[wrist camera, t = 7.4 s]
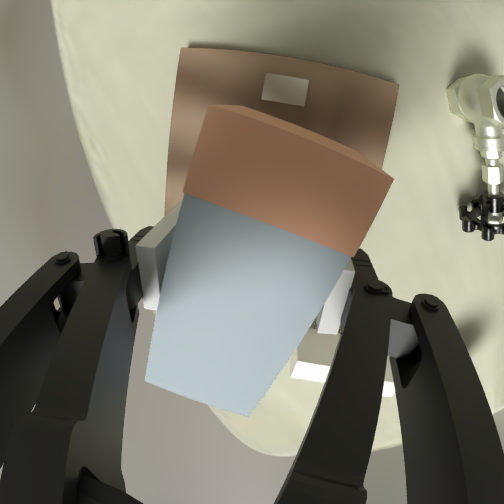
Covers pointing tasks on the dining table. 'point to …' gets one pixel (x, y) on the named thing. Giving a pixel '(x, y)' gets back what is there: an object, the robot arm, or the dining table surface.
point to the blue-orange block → (255, 253)
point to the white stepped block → (324, 359)
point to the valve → (483, 146)
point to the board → (276, 102)
